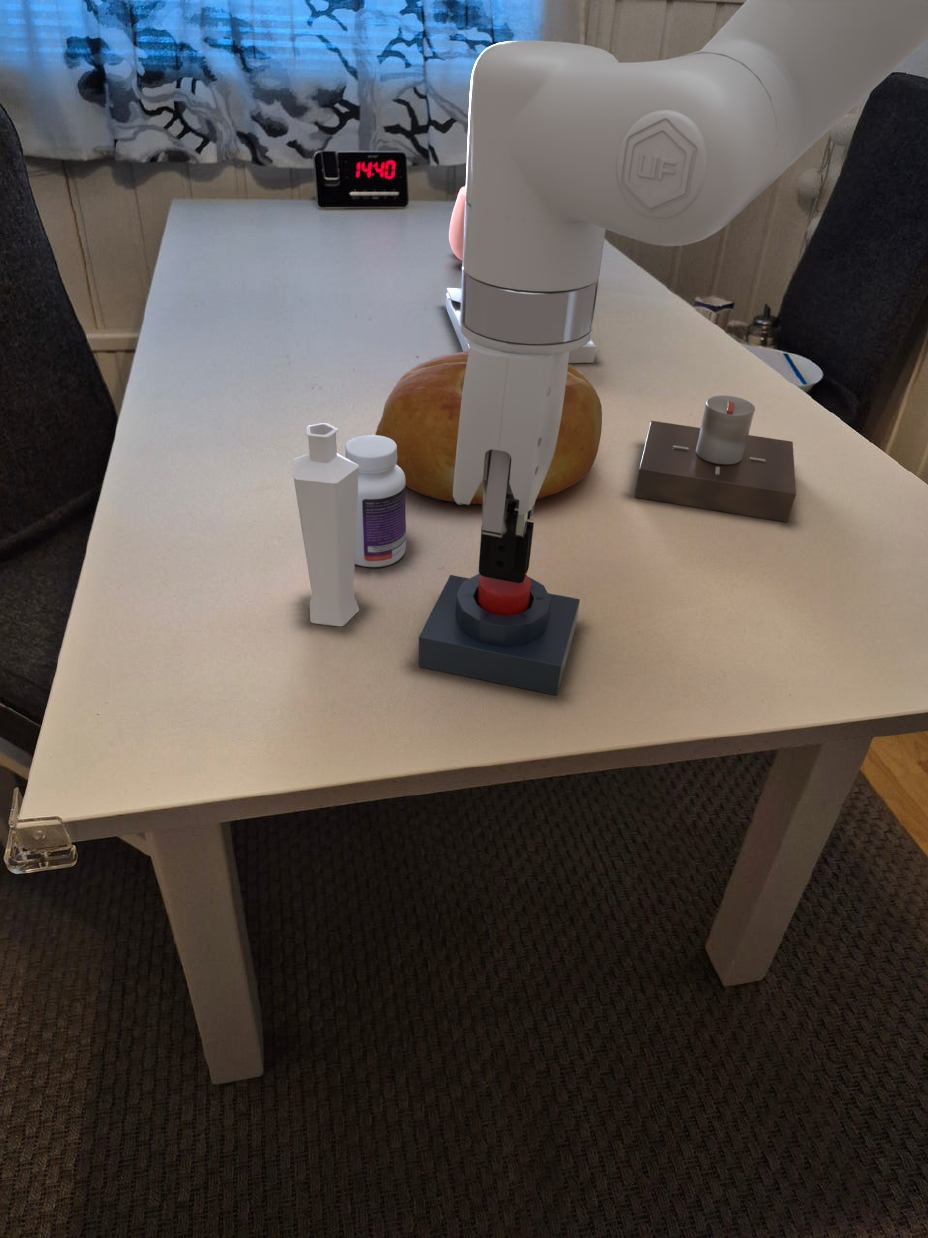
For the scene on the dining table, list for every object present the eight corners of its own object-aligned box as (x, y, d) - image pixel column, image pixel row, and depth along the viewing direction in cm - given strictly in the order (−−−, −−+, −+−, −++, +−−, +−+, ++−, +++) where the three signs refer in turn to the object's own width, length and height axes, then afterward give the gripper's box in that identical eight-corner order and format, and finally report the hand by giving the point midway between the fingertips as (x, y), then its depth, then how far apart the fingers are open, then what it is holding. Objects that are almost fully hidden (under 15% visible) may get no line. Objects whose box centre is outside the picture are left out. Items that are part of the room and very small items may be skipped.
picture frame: (446, 308, 123) (468, 365, 107) (446, 287, 121) (469, 342, 105) (555, 307, 125) (593, 362, 109) (557, 286, 124) (596, 340, 107)
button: (533, 591, 63) (535, 571, 62) (523, 621, 60) (525, 600, 59) (484, 582, 64) (486, 562, 63) (472, 611, 61) (473, 590, 60)
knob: (697, 440, 86) (708, 389, 83) (743, 447, 85) (756, 396, 82) (693, 460, 83) (705, 407, 79) (741, 468, 82) (755, 415, 79)
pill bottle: (415, 541, 75) (416, 437, 69) (391, 575, 71) (389, 467, 65) (357, 528, 76) (353, 425, 71) (330, 560, 72) (323, 453, 66)
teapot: (530, 280, 135) (538, 195, 128) (454, 279, 134) (457, 193, 126) (511, 244, 151) (517, 166, 143) (442, 243, 149) (444, 165, 142)
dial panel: (784, 468, 89) (793, 439, 87) (787, 522, 80) (796, 492, 78) (646, 446, 91) (651, 418, 89) (634, 497, 83) (639, 467, 81)
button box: (575, 627, 67) (583, 578, 64) (556, 695, 60) (564, 645, 58) (449, 602, 68) (450, 554, 66) (418, 666, 62) (418, 616, 60)
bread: (339, 428, 92) (334, 334, 86) (538, 399, 100) (547, 311, 94) (417, 540, 75) (418, 432, 69) (648, 494, 83) (667, 394, 77)
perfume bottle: (314, 637, 64) (299, 451, 55) (295, 604, 67) (277, 423, 58) (372, 621, 66) (367, 438, 57) (351, 590, 69) (342, 412, 60)
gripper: (494, 261, 56) (477, 511, 67) (424, 341, 44) (418, 626, 56) (611, 276, 54) (575, 528, 66) (571, 362, 43) (535, 650, 54)
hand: (503, 573), depth 61 cm, fingers closed
